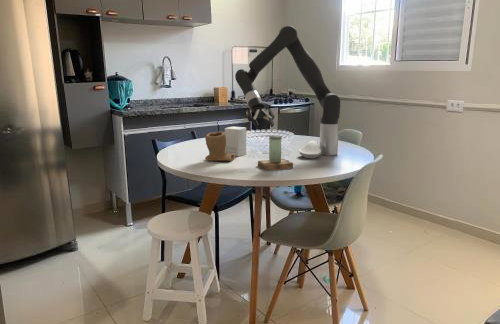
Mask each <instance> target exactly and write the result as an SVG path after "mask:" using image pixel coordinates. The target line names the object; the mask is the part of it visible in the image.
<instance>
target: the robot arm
mask: <svg viewBox="0 0 500 324" xmlns="http://www.w3.org/2000/svg"><path fill="white" fill-rule="evenodd" d="M284 49H287V50H288V51H289V53H290V55H291V57H292V59H293V61H294V63H295V65H296V67H297V68H298V70H299V72H300V74H301V76H302V77H303V79H304V80H305V81H306V83H307V84H308V86H309V87H310V88H311V89H312V91H313V93H314V95H315V96H316V99H317V100H318V102H319V105H320V106H321V107H322V108H321V109H322V116H321V118H320V130H319V133H320V134H319V147H320V149H321V153H320V155H321V156H322V155H323V156H336V155H338V151H339V149H338V148H339V136H338V126H339V125H338V122H339V118H340V114H341V99H340V97H339V96H338V95H337V94H335V93H332V92H331V90H330V89H329V87H328V86H327V85H326V83H325V80H324V77H323V75H322V72H321V70H320V67H319V66H318V64H317V63H316V61H315V60H314V58H313V57H312V55H311V54H310V53H309V52H308V50H307V49H305V47H304V45H303V43H302V42H301V40H300V39H299V36H298V32H297V29H296V27H294V26H292V25H284V26H283V27H281V28H280V30H279V33H278V34H277V36H276V37H275V39H274V40H273V41H271V42H270V44H269V45H268V46H267V47H266V48H264V49H263V50H261V52H260V53H259V54H257V56H255V57H254V58H253V59H252V60H251V61H250V62H249V64H248V67H249V70H248V71H247V70H245V69H242V68H241V69H238V70H237V71H236V72H235V75H234V76H235V77H234V78H235V81H236V83H237V85H238V86H239V88H240V89H241V92H242V94H243V96H244V98H245V101H246V104H247V106H248V108H249V109H248V108H247V110H246V112H245V115H246V117H247V121H248V122H249V123H251V122H252V123H253V126H254V127H255V129H258V128H259V126H260V124H259V122H258V120H257V119H264V120H266V121H268V124H269V126H270V127H271V128H273V127H274V126H275V122H274V119H275V117H276V116H275V114H274V112H273V110H272V108H271V107H270V108H268V109H266V108H265V105H264V102H263V100H262V98H261V96H260V94H259V92H258V90H257V88H256V86H255V84H253V83H254V82H255V81H256V78H257V77H258V75H259V74H260V72H261V71H263V70H264V68H266V67H267V66H268V65H269V63H270V62H271V61H272V60H274V59H275V57H277V55H278V54H280V53H281V52H282V51H283V50H284ZM252 115H253V117H252Z"/></svg>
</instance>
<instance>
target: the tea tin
mask: <svg viewBox="0 0 500 324" xmlns="http://www.w3.org/2000/svg"><path fill="white" fill-rule="evenodd" d="M268 139H269V140H268V141H269V142H268V143H269V146H268V147H269V148H268V150H269V151H268V155H269V157H268V160H269V162H272V163H279V162H281V159H282V135H269V137H268Z"/></svg>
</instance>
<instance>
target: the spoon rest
mask: <svg viewBox="0 0 500 324" xmlns="http://www.w3.org/2000/svg"><path fill="white" fill-rule="evenodd" d="M298 152H299V154H300V156H301V157H303V158H304V159H315V158H317V157H319V156H320V155H321V154H320V153H321V149H320V145H319V144H318V140H310V141H309V142H307V143H306V144H305V145H304V146H302V147H300V148H299V150H298Z"/></svg>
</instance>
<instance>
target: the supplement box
mask: <svg viewBox="0 0 500 324" xmlns="http://www.w3.org/2000/svg"><path fill="white" fill-rule="evenodd" d="M224 133H225V135H226V147H225V151H226V153H231V154H236V156H235V157H241V156H244V155H247V127H243V126H234V125H233V126H229V127H225V128H224Z"/></svg>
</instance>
